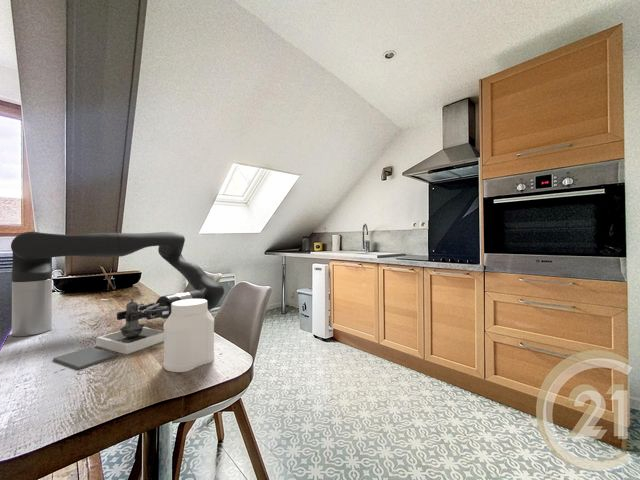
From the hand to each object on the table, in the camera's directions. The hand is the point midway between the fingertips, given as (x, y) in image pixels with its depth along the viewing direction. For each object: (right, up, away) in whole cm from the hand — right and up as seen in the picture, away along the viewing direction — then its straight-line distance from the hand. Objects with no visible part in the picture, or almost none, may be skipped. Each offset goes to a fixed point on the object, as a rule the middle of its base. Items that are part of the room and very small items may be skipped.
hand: (122, 317), depth 80 cm
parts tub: (+1, -8, +3) cm, 9 cm away
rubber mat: (-4, -8, -8) cm, 12 cm away
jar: (+24, -8, -10) cm, 27 cm away
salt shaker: (+1, -7, +3) cm, 8 cm away
